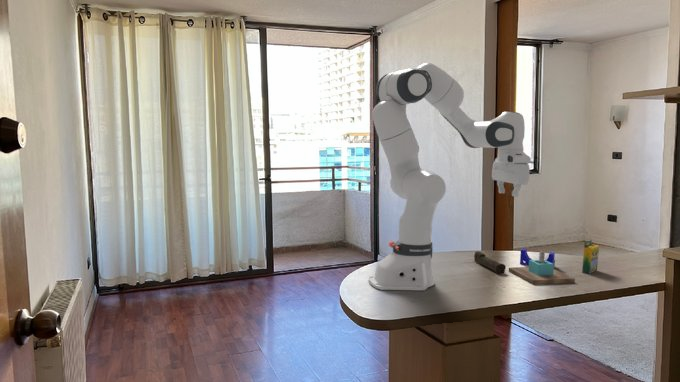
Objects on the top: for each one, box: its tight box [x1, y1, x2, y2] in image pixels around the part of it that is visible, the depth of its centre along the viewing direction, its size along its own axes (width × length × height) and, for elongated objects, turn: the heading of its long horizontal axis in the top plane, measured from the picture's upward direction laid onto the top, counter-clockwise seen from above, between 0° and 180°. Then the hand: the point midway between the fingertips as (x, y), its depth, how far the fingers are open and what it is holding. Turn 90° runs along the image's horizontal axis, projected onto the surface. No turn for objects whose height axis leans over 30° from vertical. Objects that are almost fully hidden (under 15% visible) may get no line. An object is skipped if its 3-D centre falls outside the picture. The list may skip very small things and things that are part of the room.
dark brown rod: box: [473, 251, 506, 275], centre depth 189 cm, size 19×4×5 cm, turn 12°
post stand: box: [508, 250, 576, 286], centre depth 176 cm, size 16×16×10 cm
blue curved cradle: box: [519, 248, 556, 268], centre depth 192 cm, size 12×4×6 cm, turn 56°
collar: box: [528, 259, 555, 276], centre depth 176 cm, size 6×6×4 cm
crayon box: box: [581, 239, 600, 275], centre depth 184 cm, size 7×3×12 cm, turn 132°
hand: (508, 194), depth 179 cm, fingers open, 8 cm apart
